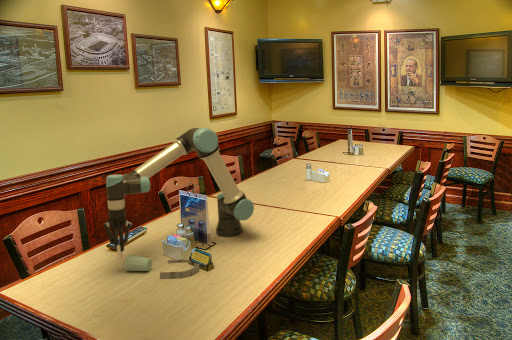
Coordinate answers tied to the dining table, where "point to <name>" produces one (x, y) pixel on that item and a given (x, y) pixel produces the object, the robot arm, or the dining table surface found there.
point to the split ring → (183, 273)
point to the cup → (137, 263)
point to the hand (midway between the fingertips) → (120, 258)
